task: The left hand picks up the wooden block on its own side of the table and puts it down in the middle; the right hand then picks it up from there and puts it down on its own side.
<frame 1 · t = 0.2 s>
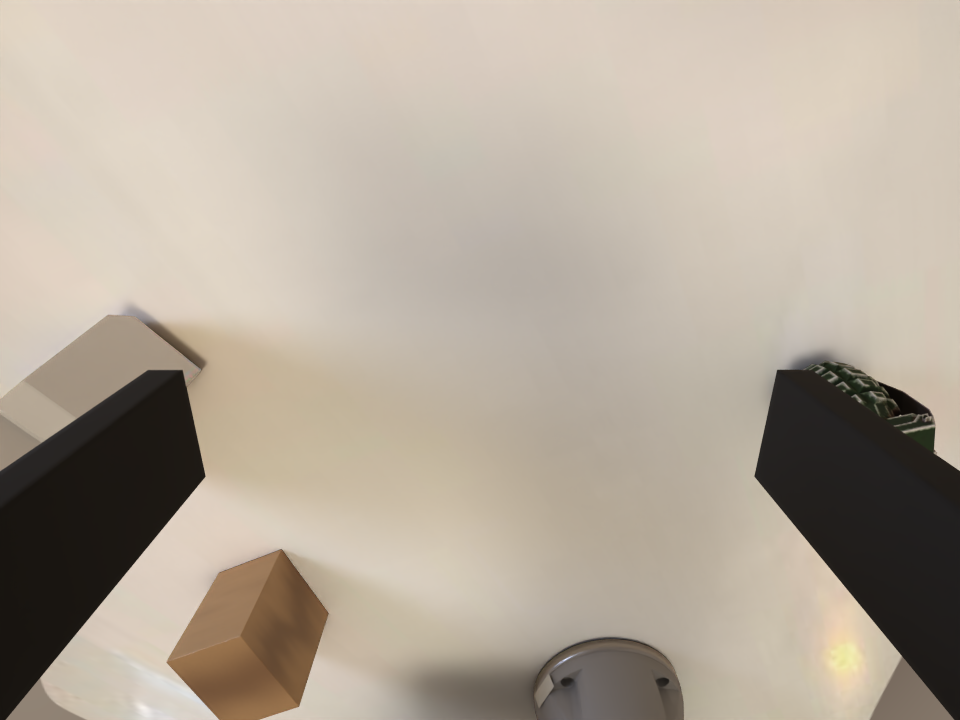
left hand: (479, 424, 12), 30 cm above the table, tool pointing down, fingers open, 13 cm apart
grenade: (814, 382, 45), on the table
block: (274, 593, 54), on the table
electronic device: (129, 382, 45), on the table
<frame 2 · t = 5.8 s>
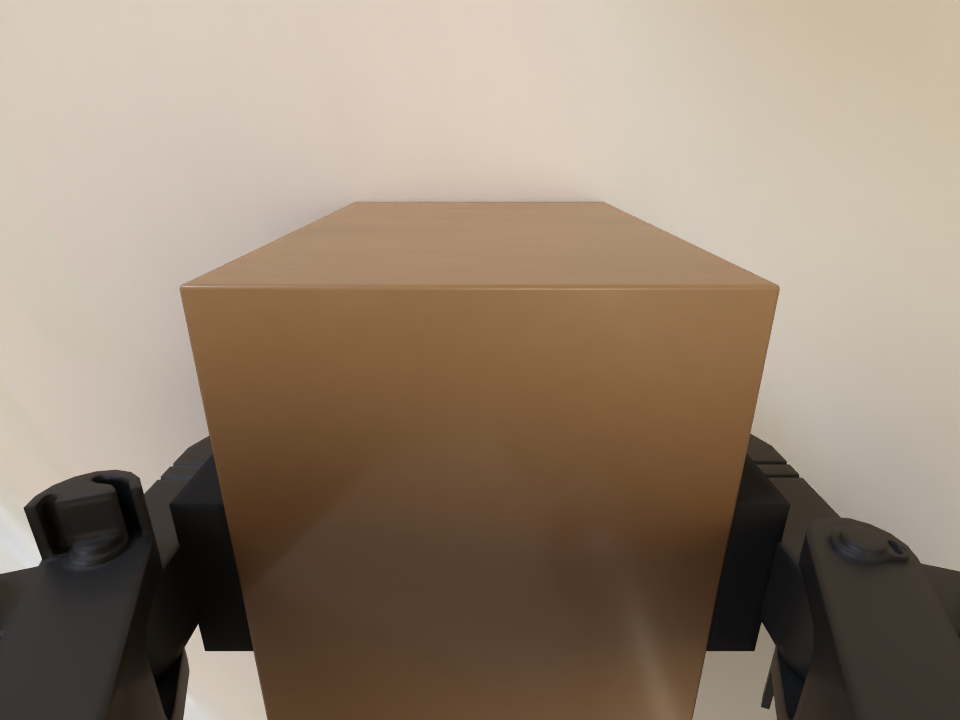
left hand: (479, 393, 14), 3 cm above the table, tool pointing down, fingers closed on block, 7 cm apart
block: (479, 349, 17), on the table, touching left hand
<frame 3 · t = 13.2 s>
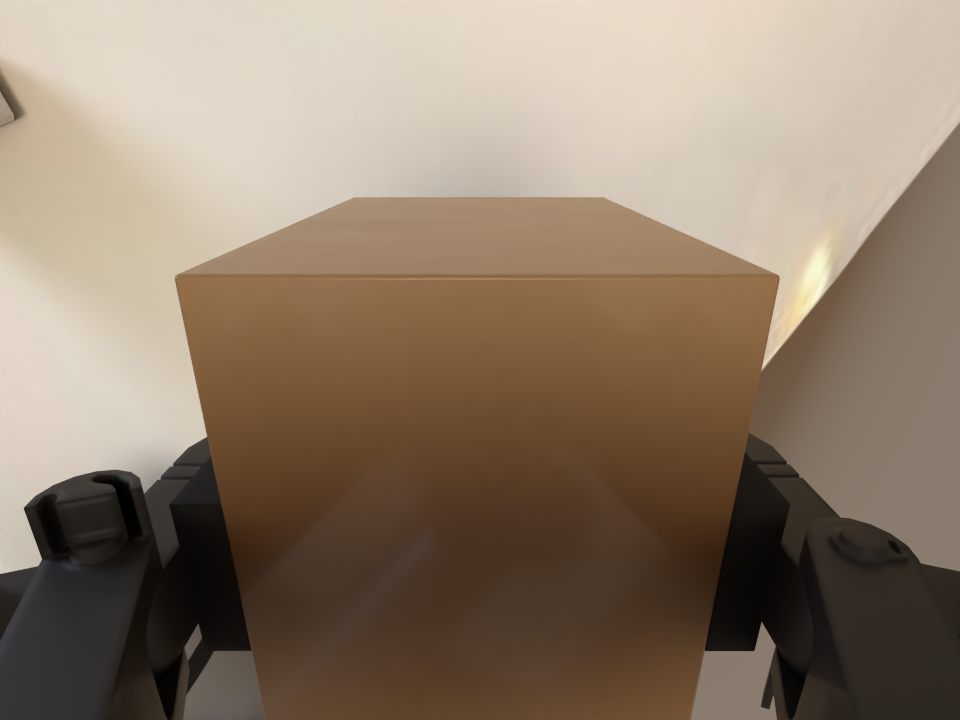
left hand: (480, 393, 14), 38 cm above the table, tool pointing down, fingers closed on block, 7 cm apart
block: (478, 346, 17), point 34 cm above the table, touching left hand
when the left hand's fingers open (4 cm above the table, at t = 20.9 s): block drops 1 cm, on the table.
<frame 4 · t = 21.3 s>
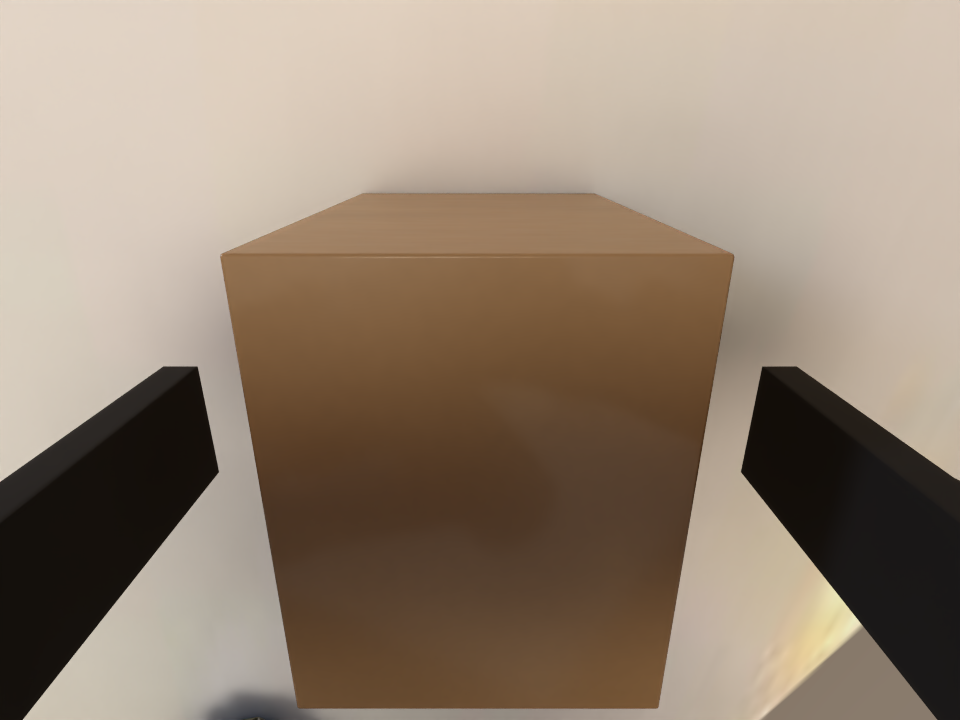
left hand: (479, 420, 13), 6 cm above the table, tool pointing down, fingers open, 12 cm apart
block: (478, 333, 18), on the table
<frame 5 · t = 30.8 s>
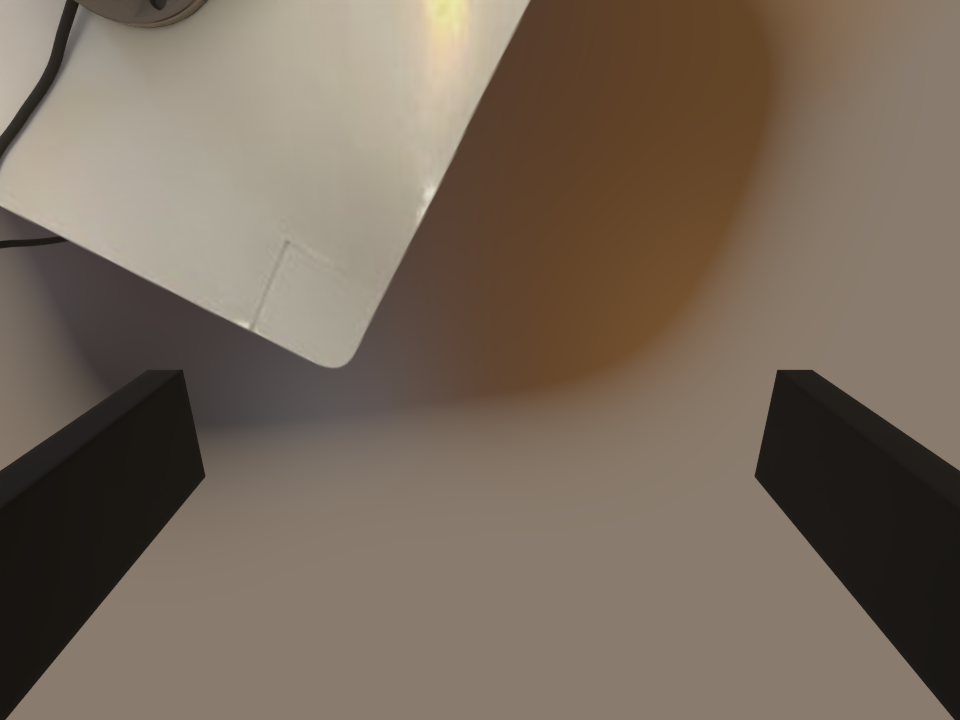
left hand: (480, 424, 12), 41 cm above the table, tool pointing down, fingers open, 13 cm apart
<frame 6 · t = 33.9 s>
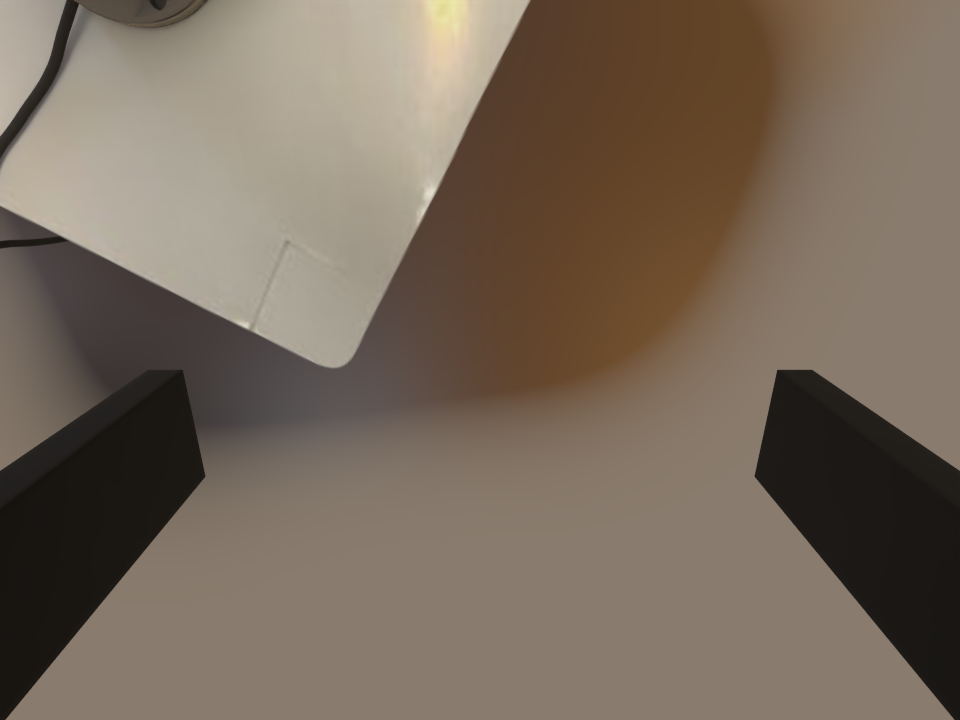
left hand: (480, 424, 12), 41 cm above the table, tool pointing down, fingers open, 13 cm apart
when the right hand's fingers open (4 cm above the table, at t = 37.1 s): block drops 1 cm, on the table.
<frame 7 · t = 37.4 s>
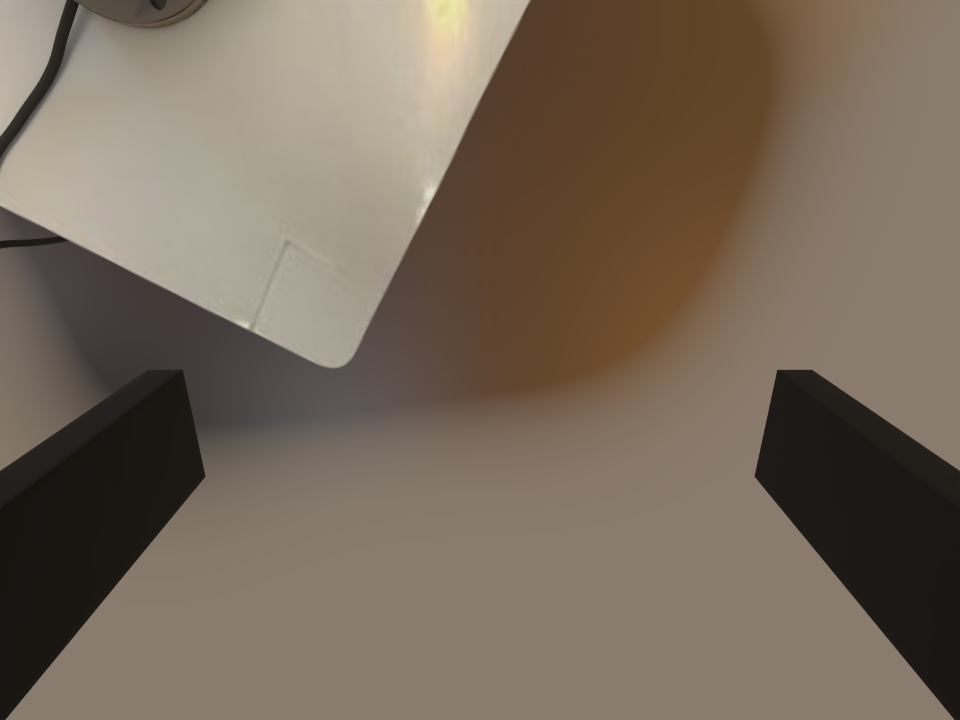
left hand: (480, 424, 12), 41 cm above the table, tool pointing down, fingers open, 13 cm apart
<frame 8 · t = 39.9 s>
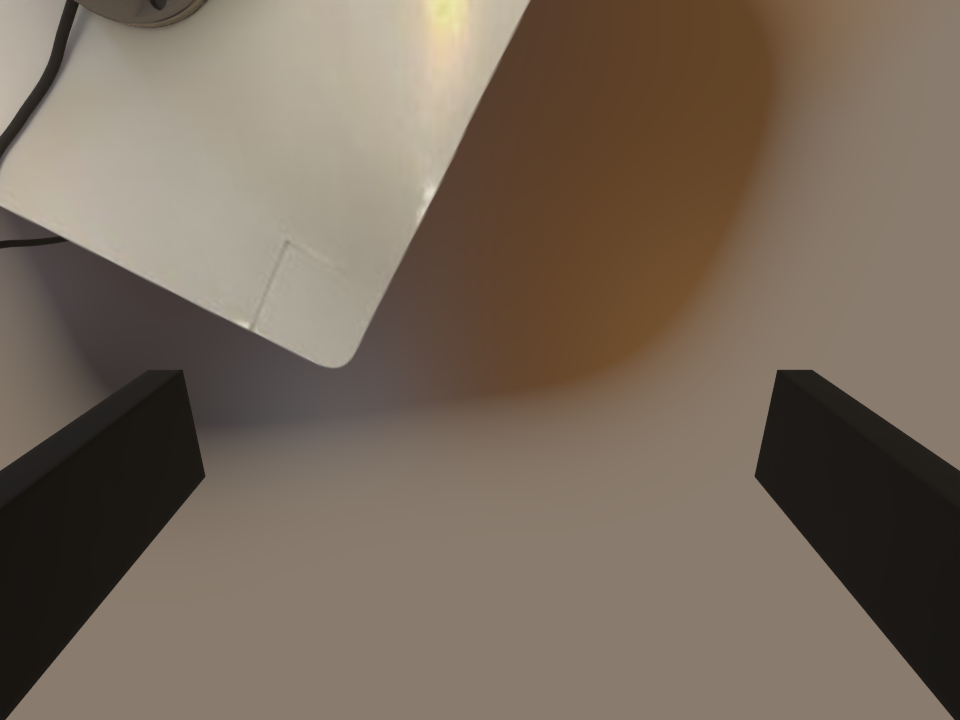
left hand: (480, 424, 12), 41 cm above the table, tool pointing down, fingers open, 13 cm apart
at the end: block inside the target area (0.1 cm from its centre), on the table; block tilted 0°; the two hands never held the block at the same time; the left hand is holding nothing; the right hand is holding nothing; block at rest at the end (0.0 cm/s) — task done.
